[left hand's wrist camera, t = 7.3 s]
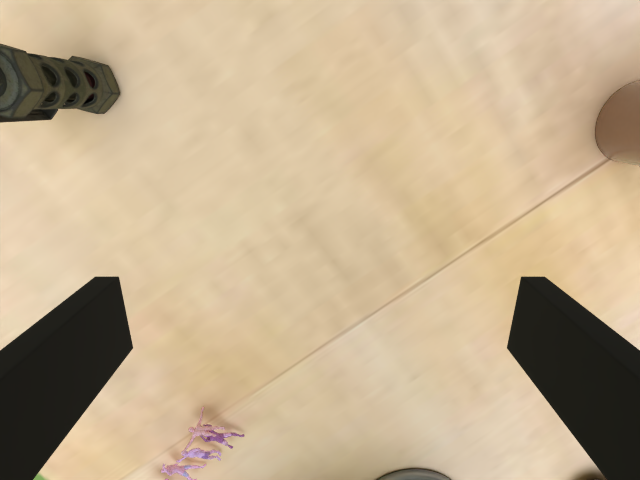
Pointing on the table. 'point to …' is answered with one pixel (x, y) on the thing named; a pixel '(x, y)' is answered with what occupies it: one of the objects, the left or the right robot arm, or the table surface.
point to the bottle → (621, 126)
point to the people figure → (197, 451)
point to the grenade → (51, 85)
